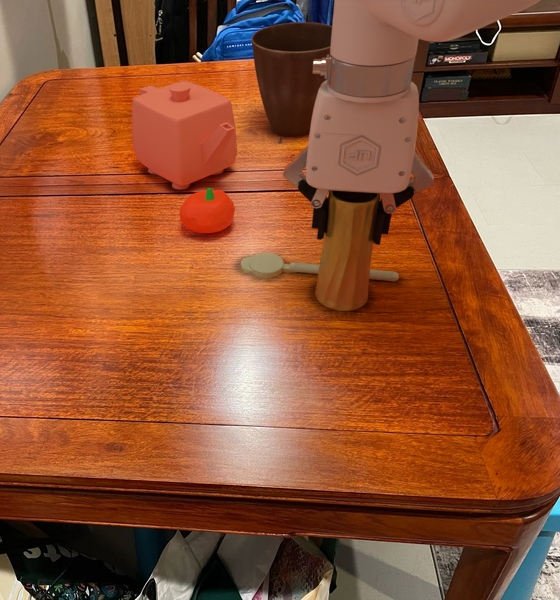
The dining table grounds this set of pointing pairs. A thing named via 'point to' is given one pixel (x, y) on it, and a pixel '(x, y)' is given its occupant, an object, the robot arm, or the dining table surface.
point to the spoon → (295, 267)
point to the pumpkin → (207, 211)
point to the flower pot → (290, 73)
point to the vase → (347, 249)
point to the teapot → (183, 132)
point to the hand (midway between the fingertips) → (348, 234)
